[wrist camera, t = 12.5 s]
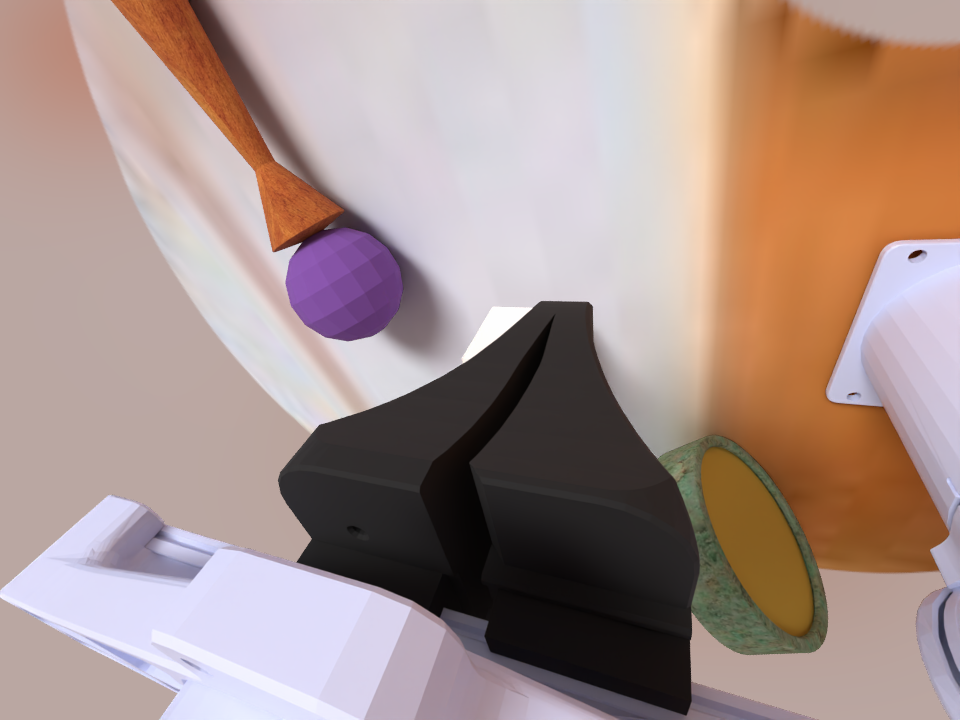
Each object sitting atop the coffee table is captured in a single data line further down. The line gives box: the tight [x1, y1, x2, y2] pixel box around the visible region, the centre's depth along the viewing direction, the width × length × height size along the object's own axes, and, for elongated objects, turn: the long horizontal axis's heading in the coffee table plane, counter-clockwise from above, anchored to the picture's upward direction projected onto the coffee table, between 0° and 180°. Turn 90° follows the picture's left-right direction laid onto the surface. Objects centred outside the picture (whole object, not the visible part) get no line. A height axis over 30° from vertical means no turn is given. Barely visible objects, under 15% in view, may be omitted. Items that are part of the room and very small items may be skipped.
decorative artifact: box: [658, 435, 828, 655], centre depth 24 cm, size 10×7×10 cm
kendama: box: [111, 0, 403, 341], centre depth 21 cm, size 6×6×20 cm
